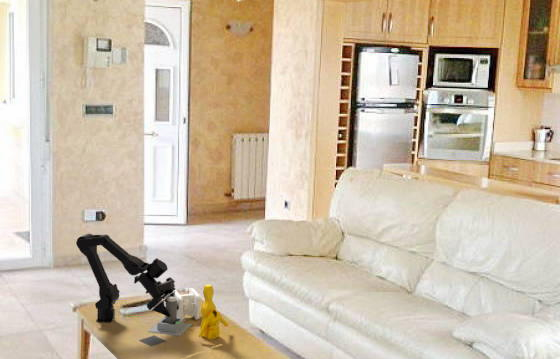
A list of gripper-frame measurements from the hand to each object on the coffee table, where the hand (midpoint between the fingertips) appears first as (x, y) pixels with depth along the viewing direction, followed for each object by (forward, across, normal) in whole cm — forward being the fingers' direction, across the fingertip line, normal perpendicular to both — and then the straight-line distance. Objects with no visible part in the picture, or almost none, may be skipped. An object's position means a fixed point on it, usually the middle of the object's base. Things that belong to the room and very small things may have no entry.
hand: (174, 312), depth 289 cm
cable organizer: (+5, +15, +6) cm, 17 cm away
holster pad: (+3, -16, +7) cm, 17 cm away
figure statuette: (+18, -2, -7) cm, 19 cm away
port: (+4, 0, +6) cm, 8 cm away
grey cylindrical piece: (+4, 0, +6) cm, 7 cm away
